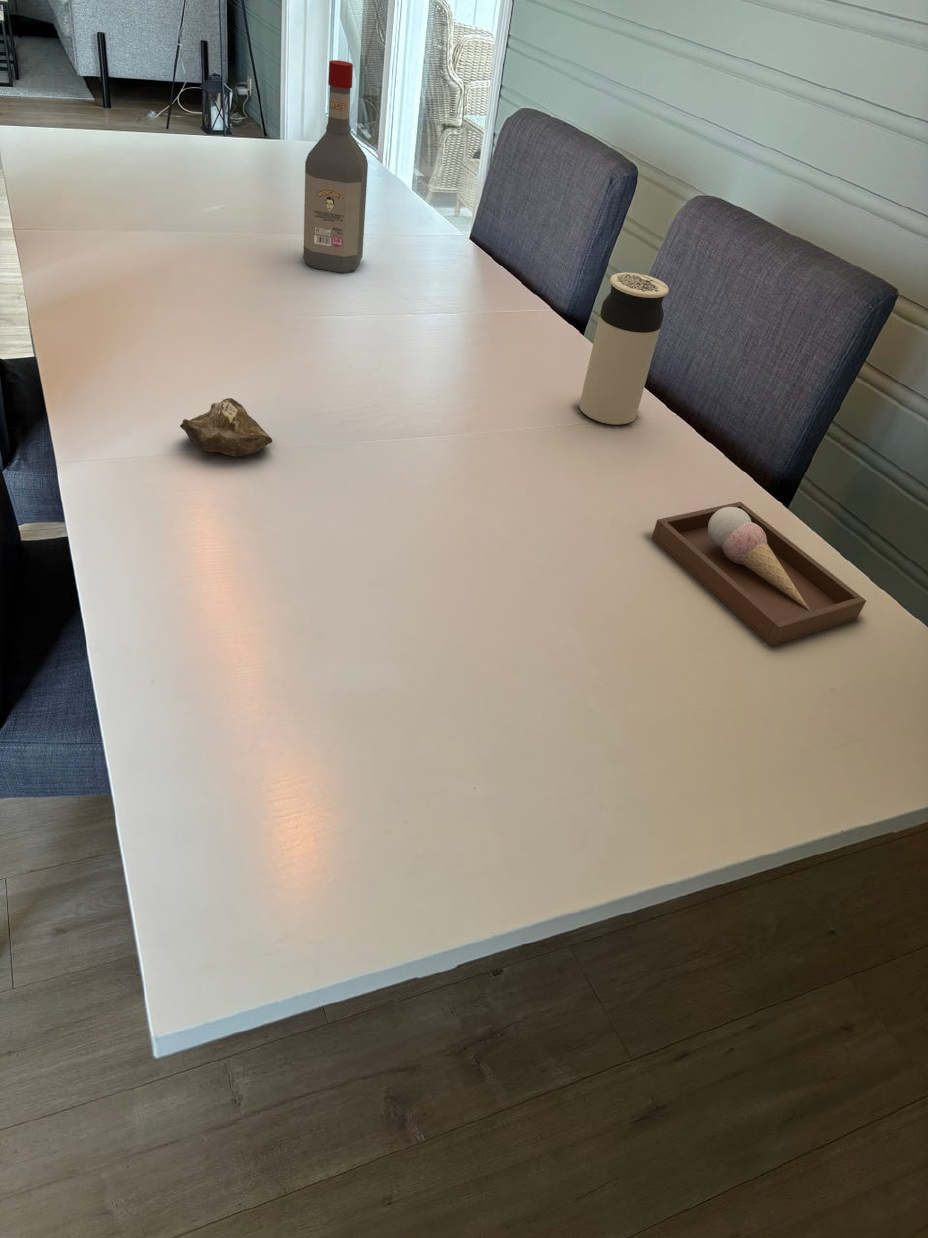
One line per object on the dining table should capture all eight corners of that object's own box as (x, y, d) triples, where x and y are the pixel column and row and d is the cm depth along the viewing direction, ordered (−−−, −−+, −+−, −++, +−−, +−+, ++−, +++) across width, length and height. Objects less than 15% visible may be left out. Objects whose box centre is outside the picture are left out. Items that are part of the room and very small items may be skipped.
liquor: (353, 275, 154) (365, 72, 135) (300, 266, 154) (304, 62, 135) (364, 258, 161) (376, 63, 142) (313, 249, 161) (318, 53, 142)
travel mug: (600, 429, 122) (633, 296, 110) (567, 402, 127) (596, 272, 116) (646, 422, 125) (683, 292, 114) (613, 396, 130) (645, 269, 119)
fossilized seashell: (163, 434, 102) (241, 472, 101) (185, 378, 100) (265, 416, 100) (193, 439, 109) (266, 475, 108) (214, 387, 108) (288, 423, 107)
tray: (857, 618, 96) (866, 600, 94) (770, 646, 90) (779, 627, 89) (733, 519, 108) (740, 501, 107) (651, 537, 103) (657, 519, 101)
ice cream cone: (823, 608, 97) (729, 513, 104) (834, 589, 93) (735, 490, 99) (788, 633, 97) (696, 535, 103) (798, 614, 92) (701, 513, 99)
